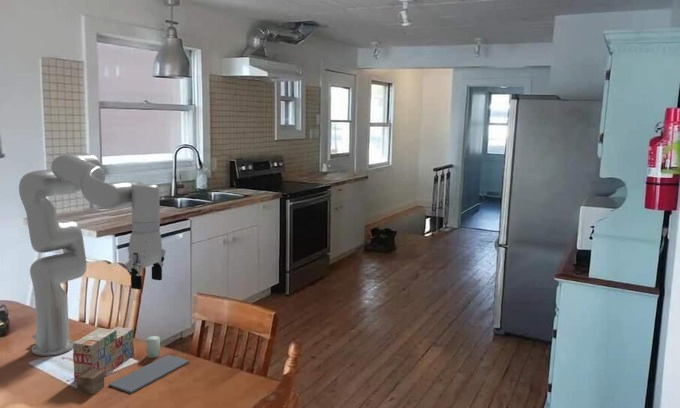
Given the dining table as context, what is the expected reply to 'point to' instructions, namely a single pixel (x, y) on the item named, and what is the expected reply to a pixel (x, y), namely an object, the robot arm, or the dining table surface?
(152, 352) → the mint green capsule
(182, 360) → the mat
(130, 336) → the stack of blocks
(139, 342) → the dining table surface
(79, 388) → the walnut cube
